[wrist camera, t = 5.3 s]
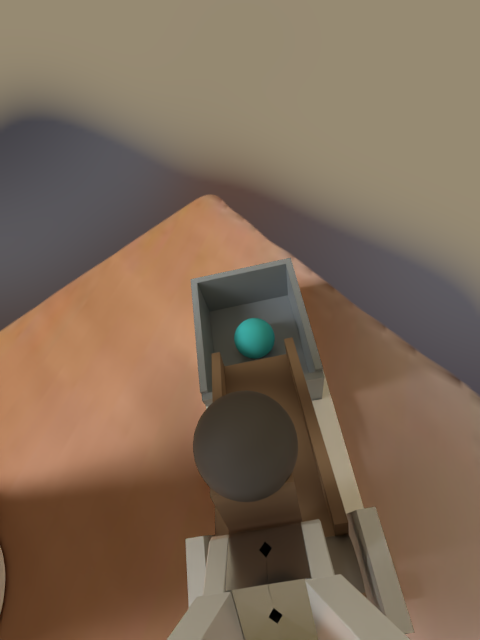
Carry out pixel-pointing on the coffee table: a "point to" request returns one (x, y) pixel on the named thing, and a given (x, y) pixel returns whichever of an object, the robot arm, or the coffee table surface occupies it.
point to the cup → (252, 302)
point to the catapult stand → (362, 530)
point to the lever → (270, 455)
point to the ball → (254, 338)
